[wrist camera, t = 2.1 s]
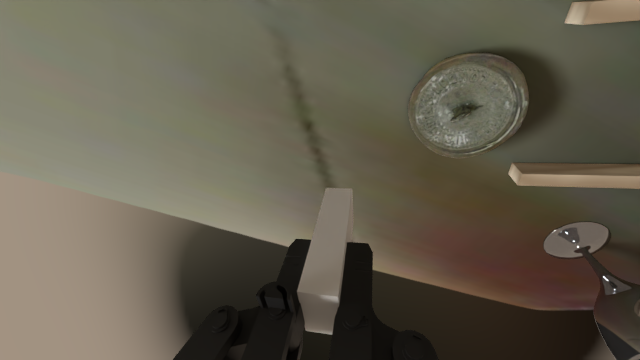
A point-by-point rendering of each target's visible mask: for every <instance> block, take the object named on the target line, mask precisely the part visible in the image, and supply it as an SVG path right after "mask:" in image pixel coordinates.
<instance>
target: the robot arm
mask: <svg viewBox="0 0 640 360" xmlns="http://www.w3.org/2000/svg"><path fill="white" fill-rule="evenodd" d="M352 231H353V193H352V189H345V188H326V190H325V194H324V197H323V201H322V204H321V208H320V211H319V215H318V219H317V222H316V226H315V229H314V233H313V236H312V240H306V239H296V240H295V241H294V242H293V243H292V244H291V245H290V246H289V249H288V252H287V254H286V257H285V260H284V262H283V266H282V268H281V271H280V273H279V276H278V279H277V281H276V282H271V283H269V284H266V285H264V286H263V287H262V288H261V289H260V290H259V291H258V293H257V294H256V297H257V300H258V302H259V305H260V306H258V307H255V308H252V309H247V310H242V311H237V310H236V309H235V308H234V307H232V306H222V307H219V308H217V309H215V310H213V311H212V312H211V313H210V314H209V315H208V316H207V317H206V319H205V320H204V321H203V322H202V324H201V325H200V326H199V327H198V329H197V330H196V331H195V332H194V334H193V335H192V336H191V338H190V339H189V340H188V341H187V343H186V344H185V345H184V346H183V348H182V349H181V350H180V351H179V353H178V354H177V355H176V356H175V358H174V359H173V360H300V356H301V351H302V346H303V340H302V333H303V329H304V325H305V329H306V331H312V332H318V333H325V334H332V340H331V349H330V355H329V360H439V359H438V357H437V355H436V352H435V349H434V348H433V346H432V344H431V343H430V341H429V340H428V339H427V338H426V337H425V336H424V335H423V334H420V333H418V332H416V331H412V330H405V331H402V332H399V331H397V330H395V329H392V328H390V327H388V326H387V325H385V324H383V323H382V322H381V321H380V320H379V319H378V318H377V317H376V315H375V313H374V311H373V308H372V261H373V252H372V250H371V248H370V246H369V244H367V243H353V242H351V241H352Z"/></svg>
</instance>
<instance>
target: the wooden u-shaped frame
mask: <svg viewBox="0 0 640 360" xmlns="http://www.w3.org/2000/svg"><path fill="white" fill-rule="evenodd" d="M635 20H640V0H592V1H582V2H572V4H571V7H570V10H569V12H568V15H567V18H566V20H565V23H568V24H581V25H586V24H598V23H610V22H623V21H635ZM508 174H509V175H510V176H511V178H512V179H513V180H514V181H515V183H516V184H517V185H523V186H561V187H599V188H636V189H640V164H577V163H512V165H511V168H510V170H509V173H508Z"/></svg>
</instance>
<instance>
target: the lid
mask: <svg viewBox="0 0 640 360" xmlns="http://www.w3.org/2000/svg"><path fill="white" fill-rule="evenodd" d="M528 105H529V93H528V86H527V83H526V80H525V76H524V74H523V72H522V71H521V70H520V69H519V68H518V67H517V66H516V65H515V64H514V63H513V62H511V61H509V60H508V59H506V58H504V57H502V56H499V55H495V54H492V53H484V52H482V53H465V54H459V55H455V56H453V57H448V58H446V59H444V60H442V61H441V62H439V63H438V64H436V65H435V66H433V67H432V68H431V69H430V70H429V71H428V72H427V73H426V74H425V75H424V77H423V78H422V79H421V80H420V81H419V83H418V84H417V85H416V87H415V88H414V90H413V91H412V94H411V97H410V100H409V106H408V115H409V119H410V125H411V128H412V129H413V131H414V133H415V135H416V136H417V138H418V139H419V140H420V141H421V142H422V143H423V144H424V145H425V146H426V147H427V148H429V149H430V150H431V151H433V152H435V153H437V154H439V155H442V156H445V157H452V158H467V157H473V156H477V155H481V154H484V153H486V152H489V151H491V150H493V149H495V148H496V147H498V146H500V145H501V144H502V143H504V142H505V141H506V140H508V139H509V138H510V137H512V136H513V135H514V134H515V133H516V132H517V130H518V129H519V128H520V126H521V125H522V123H523V120H524V118H525V117H526V114H527V111H528Z"/></svg>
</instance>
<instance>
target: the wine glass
mask: <svg viewBox="0 0 640 360" xmlns="http://www.w3.org/2000/svg"><path fill="white" fill-rule="evenodd" d="M609 240H610V232H609V230H608V229H607V227H605V226H604V225H601V224H599V223H595V222H575V223H571V224H567V225H564V226H562V227H559V228H558V229H556V230H554V231H553V232H551V233H550V234H549V235H548V236H547V237H546V239H545V240H544V243H543V247H544V250H545V251H546V252H547V253H548V254H549V255H551V256H553V257H555V258H559V259H578V258H583V257H585V258H586V260H587V261H588V262H589V264H590V265H591V266H592V268H593V270H594V271H595V273H596V274H597V276H598V278H599V281H600V291H599V294H598V296H597V299H596V302H595V305H594V317H595V321H596V323H597V326H598V328H599V331H600V333H601V335H602V337H603V339H604V340H605V343H606V345H607V346H608V348H609V350H610V351H611V353H612V354H613V356H614V358H615V359H616V360H640V285H638V284H635V283H631V282H628V281H625V280H622V279H620V278H618V277H616V276H615V275H613V274H612V273H611V272H609V271H608V270H607V269H606V268H605V267H604V266H602V265H601V264H600V263H599V262H598V261H597V260H596V259H595V258H594V257H593V256H592V254H594V253H596V252H598V251H600V250H601V249H603V248H604V247H605V246H606V245H607V244H608V242H609Z"/></svg>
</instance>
